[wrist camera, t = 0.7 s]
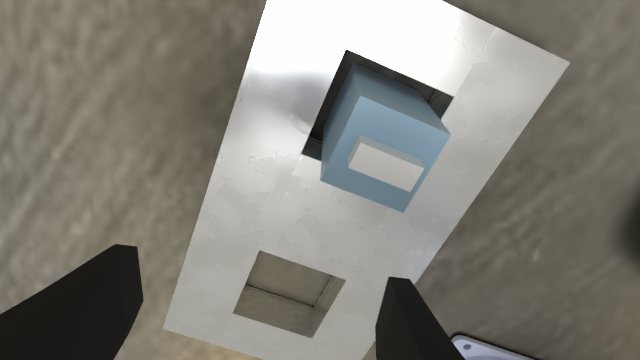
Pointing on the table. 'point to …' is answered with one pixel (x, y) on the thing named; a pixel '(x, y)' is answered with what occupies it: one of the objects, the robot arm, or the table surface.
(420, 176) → the plug
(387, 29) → the grey socket board
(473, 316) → the table surface
